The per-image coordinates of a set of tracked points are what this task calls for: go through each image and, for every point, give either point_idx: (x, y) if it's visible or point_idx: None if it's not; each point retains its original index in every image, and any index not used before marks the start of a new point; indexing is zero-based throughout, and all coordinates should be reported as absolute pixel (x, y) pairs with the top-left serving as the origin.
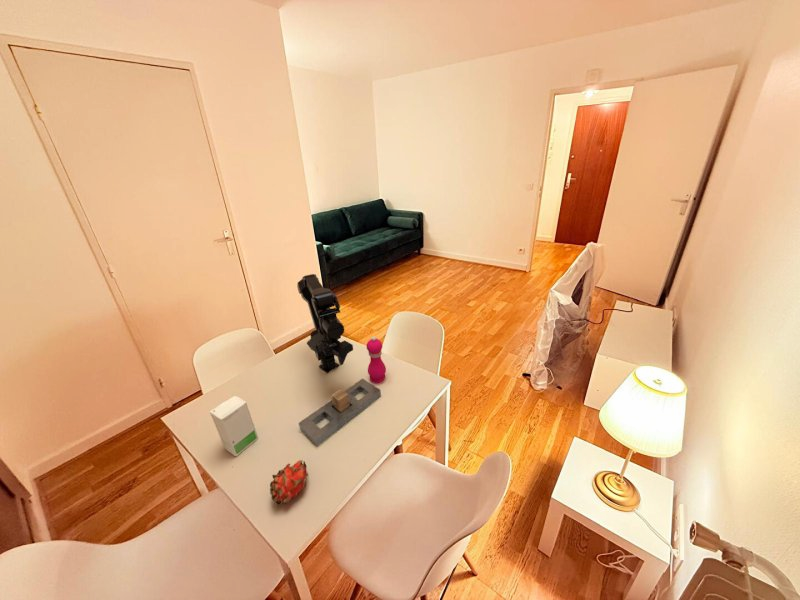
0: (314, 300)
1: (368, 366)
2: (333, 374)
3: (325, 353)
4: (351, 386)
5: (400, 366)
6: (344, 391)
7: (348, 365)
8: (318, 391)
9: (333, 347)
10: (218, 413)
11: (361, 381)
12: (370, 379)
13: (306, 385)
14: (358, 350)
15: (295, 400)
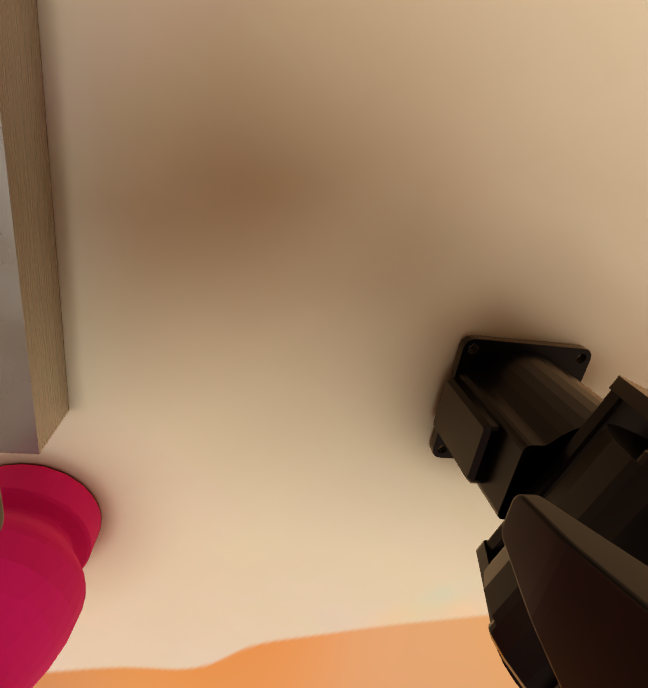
0: None
1: (9, 608)
2: (402, 355)
3: (558, 538)
4: (16, 310)
5: None
6: (3, 203)
7: (364, 488)
8: (365, 100)
9: (542, 657)
10: None
11: (5, 420)
12: (38, 480)
13: (542, 99)
14: (412, 615)
15: None
